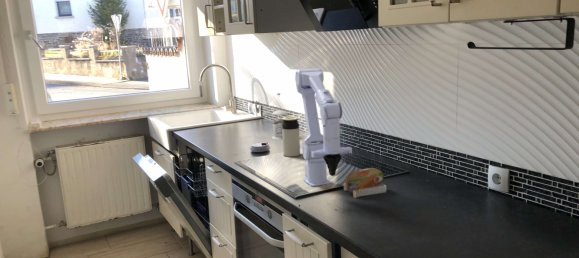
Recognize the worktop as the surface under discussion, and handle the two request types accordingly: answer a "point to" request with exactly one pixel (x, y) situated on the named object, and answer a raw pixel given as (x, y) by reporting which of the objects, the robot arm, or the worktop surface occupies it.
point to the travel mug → (291, 136)
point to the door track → (367, 190)
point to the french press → (278, 124)
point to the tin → (364, 179)
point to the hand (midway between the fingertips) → (332, 175)
